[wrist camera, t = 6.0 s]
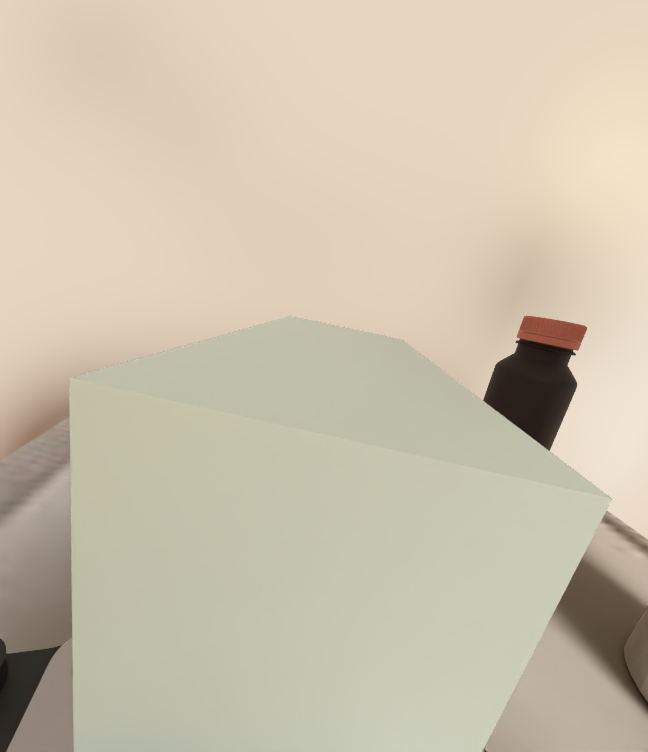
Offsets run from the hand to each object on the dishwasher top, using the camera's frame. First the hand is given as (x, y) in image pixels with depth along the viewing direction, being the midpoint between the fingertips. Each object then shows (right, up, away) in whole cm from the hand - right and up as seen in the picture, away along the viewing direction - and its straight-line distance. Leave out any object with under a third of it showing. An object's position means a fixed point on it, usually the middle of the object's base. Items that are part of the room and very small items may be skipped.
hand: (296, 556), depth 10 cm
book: (-2, -10, +2) cm, 10 cm away
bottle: (+18, -8, +23) cm, 31 cm away
